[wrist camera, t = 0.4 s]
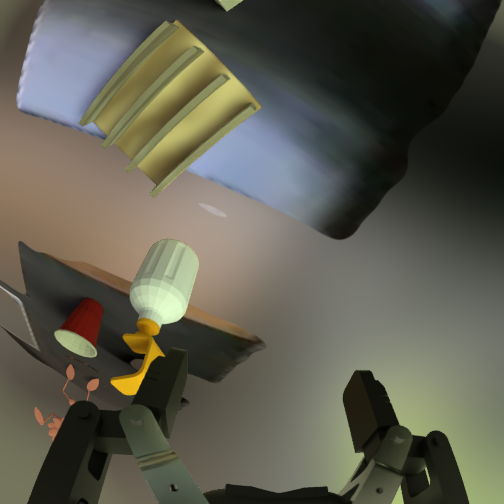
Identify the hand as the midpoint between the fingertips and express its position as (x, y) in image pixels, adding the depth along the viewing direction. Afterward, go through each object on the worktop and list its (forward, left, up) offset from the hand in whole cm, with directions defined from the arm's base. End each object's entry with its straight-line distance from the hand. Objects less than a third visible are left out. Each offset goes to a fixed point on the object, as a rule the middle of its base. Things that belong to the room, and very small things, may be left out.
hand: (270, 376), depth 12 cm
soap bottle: (+4, -23, -29) cm, 38 cm away
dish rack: (-14, -5, -29) cm, 33 cm away
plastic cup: (+1, -52, -29) cm, 60 cm away
